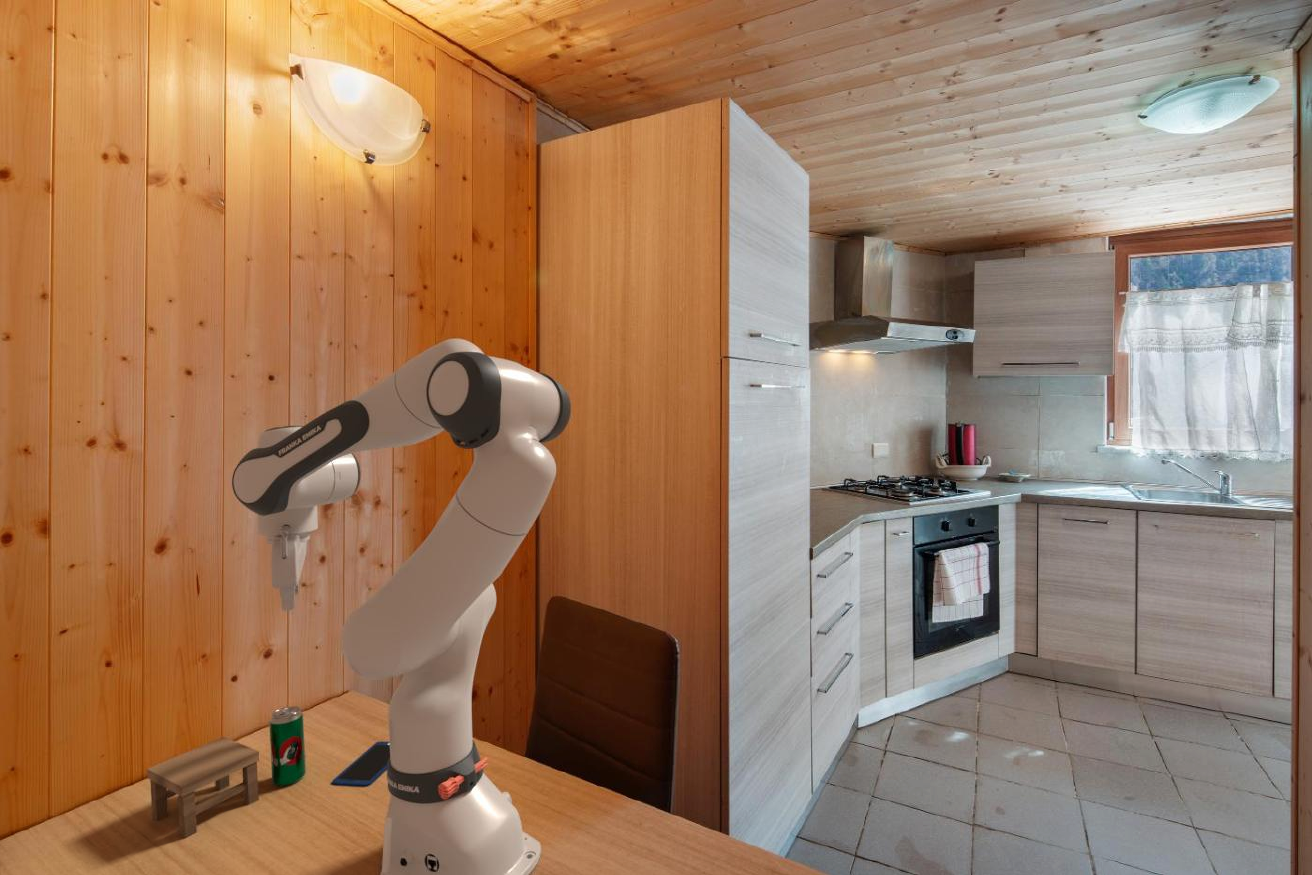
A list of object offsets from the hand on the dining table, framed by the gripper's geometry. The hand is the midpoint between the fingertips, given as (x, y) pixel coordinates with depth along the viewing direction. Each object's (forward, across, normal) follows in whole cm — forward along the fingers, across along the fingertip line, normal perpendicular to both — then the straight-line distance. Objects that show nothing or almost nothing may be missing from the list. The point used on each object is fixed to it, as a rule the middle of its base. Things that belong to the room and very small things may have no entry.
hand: (290, 601), depth 105 cm
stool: (+32, -1, +13) cm, 34 cm away
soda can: (+32, +2, +1) cm, 32 cm away
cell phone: (+32, 0, -12) cm, 34 cm away
